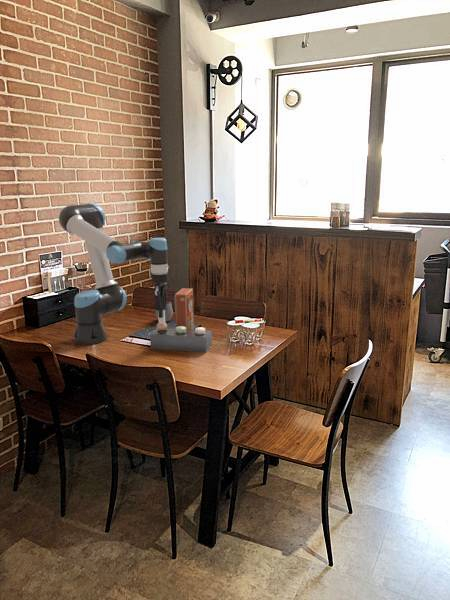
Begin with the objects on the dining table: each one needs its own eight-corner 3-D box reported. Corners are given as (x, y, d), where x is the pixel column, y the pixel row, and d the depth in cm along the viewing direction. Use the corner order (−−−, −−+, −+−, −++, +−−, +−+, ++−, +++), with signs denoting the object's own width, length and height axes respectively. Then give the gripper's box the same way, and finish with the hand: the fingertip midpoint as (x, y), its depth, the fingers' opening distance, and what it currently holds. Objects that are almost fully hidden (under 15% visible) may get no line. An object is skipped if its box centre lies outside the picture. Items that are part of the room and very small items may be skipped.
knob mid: (175, 346, 227) (174, 328, 225) (178, 342, 231) (177, 325, 229) (184, 346, 226) (184, 329, 224) (187, 343, 230) (187, 326, 228)
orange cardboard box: (195, 328, 255) (187, 338, 241) (182, 328, 256) (173, 337, 242) (194, 288, 250) (186, 295, 236) (181, 287, 251) (172, 294, 237)
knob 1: (156, 342, 228) (155, 325, 226) (159, 339, 233) (158, 322, 231) (165, 343, 228) (165, 326, 226) (168, 340, 232) (168, 323, 230)
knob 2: (194, 347, 225) (193, 330, 223) (196, 344, 230) (196, 327, 227) (204, 348, 224) (203, 330, 222) (206, 344, 229) (206, 327, 227)
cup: (164, 317, 276) (163, 299, 274) (176, 319, 271) (176, 302, 269) (152, 321, 269) (151, 303, 267) (165, 324, 264) (164, 305, 261)
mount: (150, 348, 227) (150, 334, 225) (158, 341, 236) (157, 327, 234) (206, 352, 222) (206, 337, 220) (211, 344, 231) (211, 330, 229)
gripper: (163, 276, 215) (165, 328, 221) (172, 270, 228) (174, 320, 233) (146, 275, 217) (149, 327, 223) (156, 270, 229) (158, 319, 235)
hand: (162, 323), depth 228 cm, fingers closed
